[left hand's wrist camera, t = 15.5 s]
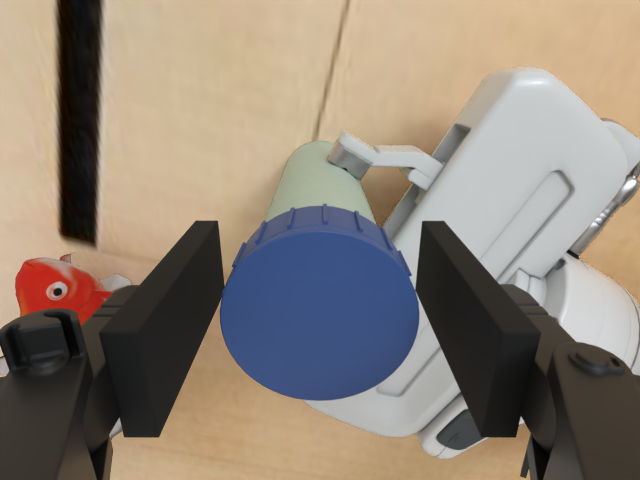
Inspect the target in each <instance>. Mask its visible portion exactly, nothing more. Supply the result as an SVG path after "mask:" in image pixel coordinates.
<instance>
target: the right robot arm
mask: <svg viewBox="0 0 640 480" xmlns="http://www.w3.org/2000/svg"><path fill="white" fill-rule="evenodd" d="M328 160H329V161H330V162H331V163H332V164H334V165H335V166H337V167H339V168H346V169H347V171H348V173H349V174H351V175H352V176H354V177H356V178H357V179H359V180H361V179H362V177H363V176H364V174H365V173H366V171H367V170H368V168H369V167H370V165H371V166H378V167H400V171H401V172H402V173H403V174H404V175H405V176H406V178H407V179H408V180H410V181H411V182H412V184H411V185H410V187H409V188H408V190H407V191H406V193H405V194H404V196H403V197H402V199H401V200H400V201H399V203H398V204H397V206H396V207H395V209H394V210H393V212H392V213H391V215H390V216H389V217H388V219H387V220H386V222H385V223H384V225H383V226H382V227H383V228H384V229H385V231H386V233H387V236H388V237H389V238H390V239H391V241H392V242H393V244H394V245H395V247H396V249H397V251H399V250H401V253H402V255H403V257H404V259H405V261H406V263H407V265H408V267H409V270H410V272H411V274H412V276H410V277H409V278H410V280H411V282H412V284H413V286H414V289H415V287H416V277H417V267H418V257H419V247H420V237H421V227H422V221H445V222H446V224H447V225H448V226H449V227H450V228H451V229H452V230H453V232H454V233H455V234H456V235H457V236H458V237H459V239H460V240H461V241H462V242H463V243H464V244H465V245H466V247H467V248H468V249H469V250H470V251H471V252H472V253H473V255H474V256H475V257H476V258H477V259H478V260H479V261H480V263H481V264H482V265H483V266H484V267H485V268H486V270H487V271H488V272H489V273H490V274H491V275H492V276H493V278H494V279H495V280H496V281H497V282H498V283H499V284H513V285H515V286H517V287H519V288H521V289H522V290H524V291H526V292H528V293H529V294H530V295H531V296H532V297H533V298H534V299H535V300H536V301H537V302H538V303H539V304H540V306H542V307H543V308H544V309H545V310H546V311H547V312H548V315H551V316H552V317H553V318H554V319H555V320H556V321H557V323H558V324H559V325H560V326H561V327H562V328H563V329H564V330H565V331H566V332H567V333H568V334H569V335H570V336H571V337H572V338H573V339H574V340H575V341H576V342H583V343H587V344H590V345H594V346H598V347H600V348H602V349H604V350H606V351H609V352H611V353H613V354H614V355H616V356H617V357H618V358H620V359H621V360H623V361H624V362H625V363H626V365H627V366H628V367H629V368H630V369H631V371H632V373H633V374H635V375H639V376H640V304H639V303H638V302H637V301H636V300H635V298H634V297H633V296H632V295H631V294H630V293H629V292H628V291H627V290H626V289H625V288H624V287H622V286H621V285H620V284H618V283H617V282H615V281H614V280H612V279H611V278H609V277H607V276H606V275H604V274H603V273H601V272H599V271H598V270H596V269H595V268H593V267H591V266H590V265H588V264H586V263H585V262H583V261H581V260H580V259H579V256H580V255H581V253H582V252H583V251H584V250H585V249H586V248H587V247H588V246H589V245H590V244H591V242H592V241H593V240H594V239H595V238H596V237H597V236H598V235H599V233H600V232H601V231H602V230H603V227H605V225H606V222H608V221H609V220H610V218H611V217H612V216H613V215H614V213H616V212H617V211H618V209H619V208H620V207H621V206H622V207H623V206H624V205H625V204H627V203H628V202H629V201H630V199H631V198H632V197H633V196H634V195H635V193H636V192H637V190H638V189H639V187H640V181H638V180H637V178H638V176H639V175H640V139H639V138H638V137H637V136H635V135H634V134H633V133H631V132H630V131H628V130H627V129H626V128H624V127H623V126H622V125H620V124H619V123H617V122H616V121H614V120H611V119H607V118H599V117H598V116H597V115H596V114H595V113H594V112H593V111H592V110H591V109H590V108H589V107H588V106H587V105H586V104H585V103H584V102H583V101H582V100H581V99H580V98H579V97H578V96H577V95H576V94H575V93H574V92H573V91H572V90H570V89H569V88H568V87H567V86H566V85H565V84H563V83H562V82H561V81H560V80H559V79H558V78H556V77H555V76H554V75H552V74H551V73H549V72H548V71H546V70H544V69H541V68H536V67H514V68H509V69H504V70H500V71H496V72H492V73H490V74H488V75H487V76H486V77H485V78H484V79H483V81H482V82H481V83H480V85H479V86H478V88H477V89H476V91H475V92H474V94H473V95H472V97H471V98H470V99H469V101H468V102H467V104H466V105H465V107H464V108H463V110H462V111H461V113H460V114H459V115H458V117H457V118H456V120H455V121H454V123H453V124H452V126H451V127H450V129H449V130H448V131H447V133H446V134H445V136H444V137H443V139H442V140H441V142H440V143H439V145H438V146H437V148H436V149H435V150H434V152H433V153H432V155H431V156H430V155H428V154H427V153H425V152H423V151H422V150H420V149H419V148H417V147H415V146H414V145H375V146H374V147H372V146H370V145H369V144H367V143H365V142H364V141H362V140H360V139H359V138H357V137H355V136H354V135H352V134H351V133H349V132H347V131H345V130H342V132H341V133H340V135H339V137H338V139H337V140H336V142H335V144H334V145H333V147H332V149H331V151H330V153H329V154H328ZM628 174H629V175H628ZM416 295H417V293H416ZM417 299H418V302H419V327H418V332H417V336H416V339H415V341H414V344H413V347H412V349H411V350H410V352H409V354H408V356H407V357H406V359H405V360H404V362H403V363H402V364H401V365H400V367H399V368H398V369H397V370H396V371H395V372H394V373H393V374H392V375H390V376H389V377H388V378H387V379H386V380H384V381H383V382H381V383H380V384H378V385H377V386H375V387H373V388H371V389H369V390H367V391H365V392H362V393H360V394H357V395H354V396H351V397H347V398H343V399H336V400H326V401H313V400H303V399H302V400H303V401H304V402H305V403H306V404H307V405H308V406H310V407H312V408H314V409H315V410H317V411H319V412H321V413H324V414H326V415H328V416H330V417H332V418H335V419H337V420H339V421H342V422H344V423H347V424H349V425H352V426H354V427H357V428H360V429H363V430H365V431H368V432H371V433H374V434H377V435H381V436H386V437H405V436H409V435H412V434H414V433H416V435H417V438H418V440H419V443H420V445H421V447H422V449H423V450H424V451H425V452H426V453H428V454H430V455H432V456H434V457H436V458H440V459H449V458H452V457H455V456H457V455H459V454H461V453H462V452H464V451H466V450H468V449H469V448H471V447H473V446H475V445H476V444H478V443H480V442H482V441H484V440H486V439H488V438H490V437H481V436H480V434H479V431H478V429H477V427H476V425H475V423H474V420H473V418H472V416H471V414H470V411H469V409H468V407H467V405H466V402H465V400H464V398H463V396H462V394H461V391H460V389H459V387H458V385H457V382H456V380H455V378H454V376H453V374H452V371H451V369H450V367H449V365H448V362H447V360H446V358H445V356H444V353H443V351H442V349H441V347H440V345H439V342H438V340H437V338H436V336H435V333H434V331H433V329H432V327H431V325H430V322H429V320H428V318H427V316H426V313H425V311H424V309H423V307H422V304H421V302H420V300H419V298H418V296H417ZM523 423H525V422H524V420H523V419H522V417H521V418H520V422H519V425H520V424H523Z"/></svg>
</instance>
